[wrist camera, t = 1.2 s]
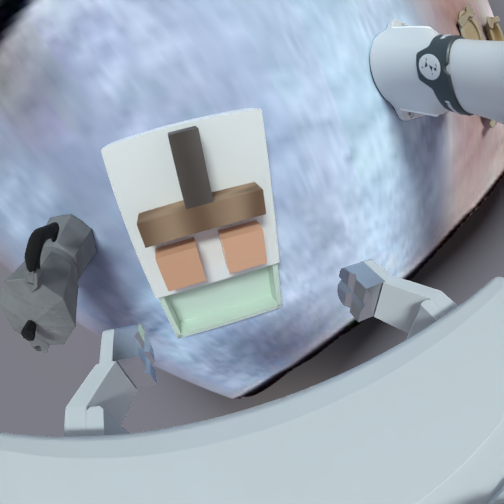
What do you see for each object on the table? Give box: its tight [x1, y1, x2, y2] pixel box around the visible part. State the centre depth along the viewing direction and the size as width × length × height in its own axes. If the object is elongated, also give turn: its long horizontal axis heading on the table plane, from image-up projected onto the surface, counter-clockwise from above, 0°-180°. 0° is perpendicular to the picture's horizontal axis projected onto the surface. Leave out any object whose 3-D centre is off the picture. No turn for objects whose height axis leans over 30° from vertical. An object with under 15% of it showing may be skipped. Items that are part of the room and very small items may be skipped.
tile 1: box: [218, 220, 267, 274], centre depth 34 cm, size 5×5×2 cm
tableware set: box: [457, 5, 504, 128], centre depth 33 cm, size 35×29×4 cm
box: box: [158, 263, 282, 338], centre depth 43 cm, size 18×10×4 cm, turn 98°
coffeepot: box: [0, 214, 96, 353], centre depth 25 cm, size 15×9×18 cm, turn 154°
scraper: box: [137, 126, 266, 248], centre depth 28 cm, size 14×11×3 cm
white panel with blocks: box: [101, 108, 280, 299], centre depth 34 cm, size 18×21×4 cm
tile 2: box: [155, 237, 206, 291], centre depth 33 cm, size 5×5×2 cm
